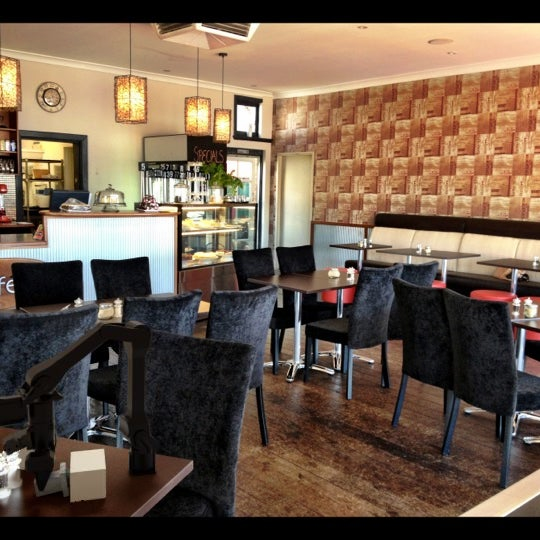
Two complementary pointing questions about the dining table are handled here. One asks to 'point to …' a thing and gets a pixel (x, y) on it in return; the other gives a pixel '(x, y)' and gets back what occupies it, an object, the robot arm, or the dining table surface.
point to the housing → (87, 475)
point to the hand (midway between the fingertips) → (42, 482)
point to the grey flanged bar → (56, 482)
